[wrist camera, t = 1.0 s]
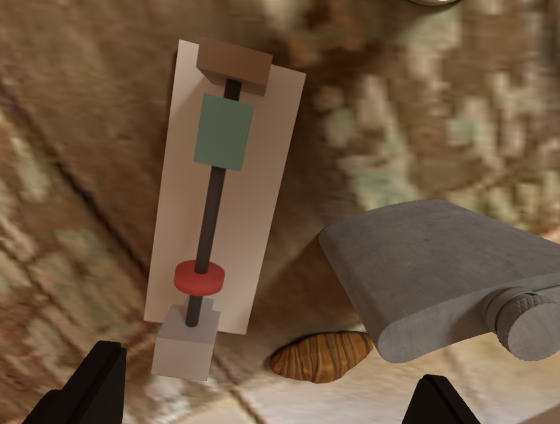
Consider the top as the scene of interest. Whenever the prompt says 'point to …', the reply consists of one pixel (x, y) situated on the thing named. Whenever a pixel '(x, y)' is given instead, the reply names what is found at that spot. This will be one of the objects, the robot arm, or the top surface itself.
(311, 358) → the croissant
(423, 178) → the top surface
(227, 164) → the sleeve
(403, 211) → the hip flask
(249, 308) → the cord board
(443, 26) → the top surface
